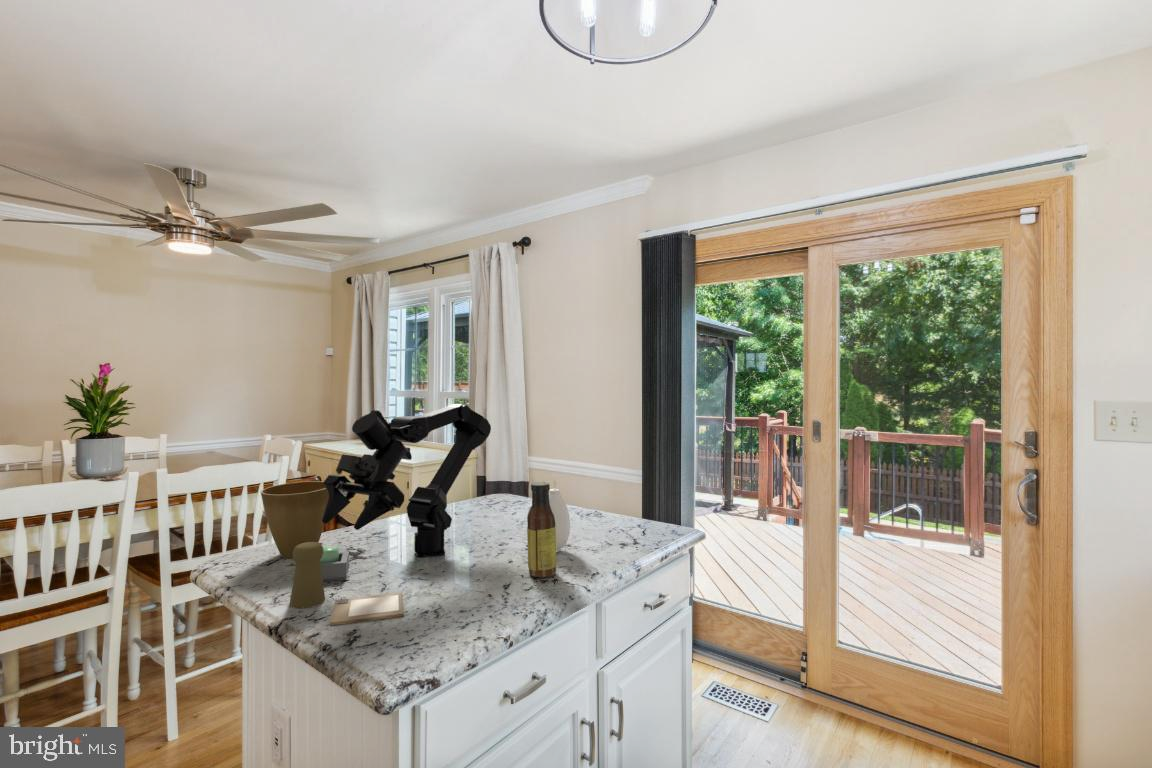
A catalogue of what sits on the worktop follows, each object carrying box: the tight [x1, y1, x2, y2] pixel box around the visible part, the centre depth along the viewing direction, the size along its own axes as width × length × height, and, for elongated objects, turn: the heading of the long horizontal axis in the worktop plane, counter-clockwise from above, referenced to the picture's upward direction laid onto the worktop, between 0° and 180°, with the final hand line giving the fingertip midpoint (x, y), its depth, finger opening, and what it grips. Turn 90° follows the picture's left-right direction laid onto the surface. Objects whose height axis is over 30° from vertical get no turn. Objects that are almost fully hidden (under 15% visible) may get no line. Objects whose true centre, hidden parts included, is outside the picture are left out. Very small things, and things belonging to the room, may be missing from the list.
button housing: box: [321, 550, 350, 582], centre depth 115 cm, size 8×8×4 cm
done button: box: [320, 545, 340, 563], centre depth 115 cm, size 4×4×3 cm
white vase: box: [549, 479, 571, 552], centre depth 133 cm, size 8×8×18 cm
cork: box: [289, 542, 326, 609], centre depth 101 cm, size 6×6×11 cm
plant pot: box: [260, 480, 329, 559], centre depth 128 cm, size 15×15×16 cm
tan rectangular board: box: [329, 591, 405, 626], centre depth 98 cm, size 12×10×1 cm
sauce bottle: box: [526, 481, 558, 579], centre depth 117 cm, size 7×6×20 cm
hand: (339, 525), depth 107 cm, fingers open, 9 cm apart
